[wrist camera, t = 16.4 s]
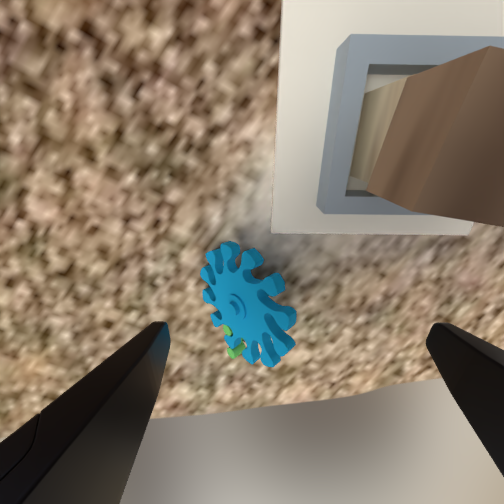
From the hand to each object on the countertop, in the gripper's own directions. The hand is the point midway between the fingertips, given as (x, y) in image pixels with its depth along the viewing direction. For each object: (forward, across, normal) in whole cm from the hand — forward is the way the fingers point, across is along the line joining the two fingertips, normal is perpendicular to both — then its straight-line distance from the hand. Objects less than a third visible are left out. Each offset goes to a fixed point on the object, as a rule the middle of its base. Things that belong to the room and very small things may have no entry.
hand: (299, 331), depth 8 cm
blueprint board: (+12, -8, -6) cm, 16 cm away
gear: (+13, +2, +6) cm, 14 cm away
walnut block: (+7, -7, -6) cm, 11 cm away
